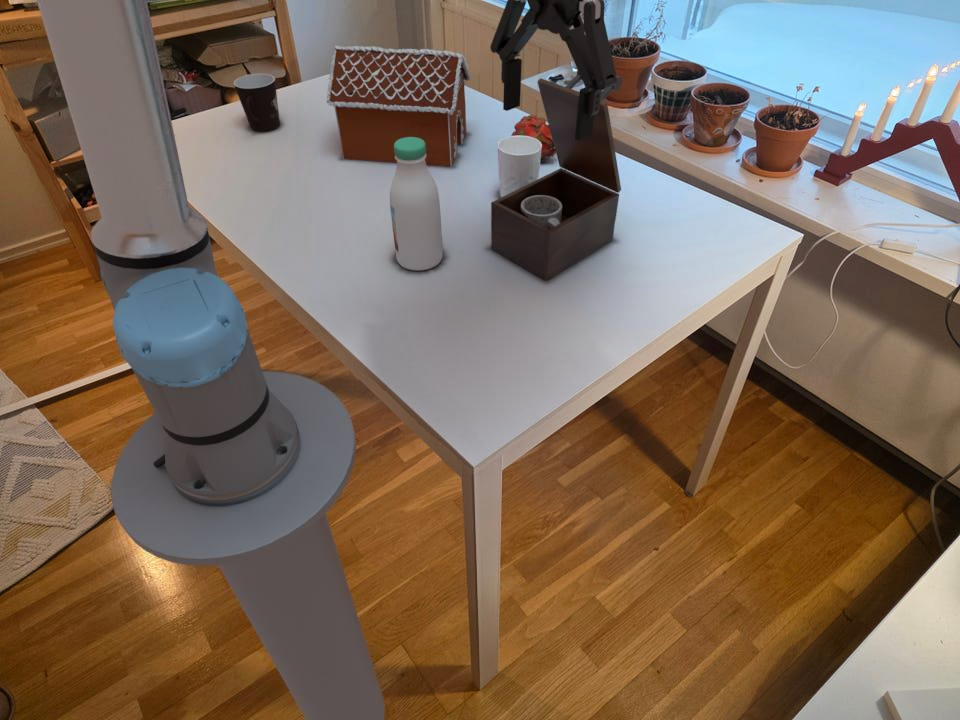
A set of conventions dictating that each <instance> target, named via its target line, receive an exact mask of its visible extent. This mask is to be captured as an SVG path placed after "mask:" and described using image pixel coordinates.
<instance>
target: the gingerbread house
mask: <svg viewBox="0 0 960 720" xmlns="http://www.w3.org/2000/svg"><path fill="white" fill-rule="evenodd" d="M332 54H333V55H332V57H331V61H330V62H331V63H330V66H329V67H330V69H329V70H330V73H329V77H328V85H327V86H328V87H327V92H326V99H325V102H326V103H327V105H328V106H331V107H334V112H335V118H336V123H337V129H338V135H339V143H340V147H341V153H342V159H343V160H355V161H357V160H358V161H371V162H381V163H382V162H383V163H384V162H385V163H396V164H397V160H396V159H395V153H394V143H395V142H396V141H397V140H399V139H401V138H406V137H416V138H420V139H422V140H423V141H424V142H425V145H426V158H425V162H426V165H427V166H436V167H450V168H452V167H453V165H454V163H455V161H456V159H457V156H458V145H461V146H462V145H463V143H464V140H465V138H466V136H467V116H466V115H467V112H466V108H467V107H466V93H465V92H466V91H465V81H467V82H469V81H470V80H472V78H471V77H472V75H471V72H470V69H469V65H468V63H467V60H466V58H465V56H464V55H463V54H462V53H461V54H460V53H459V52H457V53H455V52H454V51H452V50H451V51H449V50H439V49H438V50H435V49H429V48H420V49H417V48H414V49H413V48H402V49H401V48H399V49H396V48H391V47H390V48H384V47H380V46H375V45H373V46H371V45H370V46H368V45H367V46H363V45H354V46H350V45H348V46H347V45H346V46H343V45H342V46H341V45H338V44H337V45H335V46H334V50H333V52H332Z"/></svg>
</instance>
